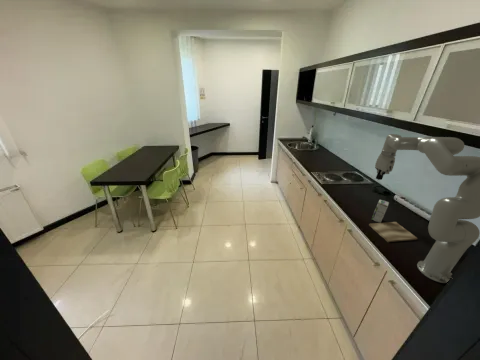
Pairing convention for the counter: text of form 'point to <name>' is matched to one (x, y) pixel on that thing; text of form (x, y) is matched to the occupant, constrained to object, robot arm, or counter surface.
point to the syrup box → (380, 211)
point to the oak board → (392, 231)
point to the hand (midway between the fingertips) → (378, 179)
